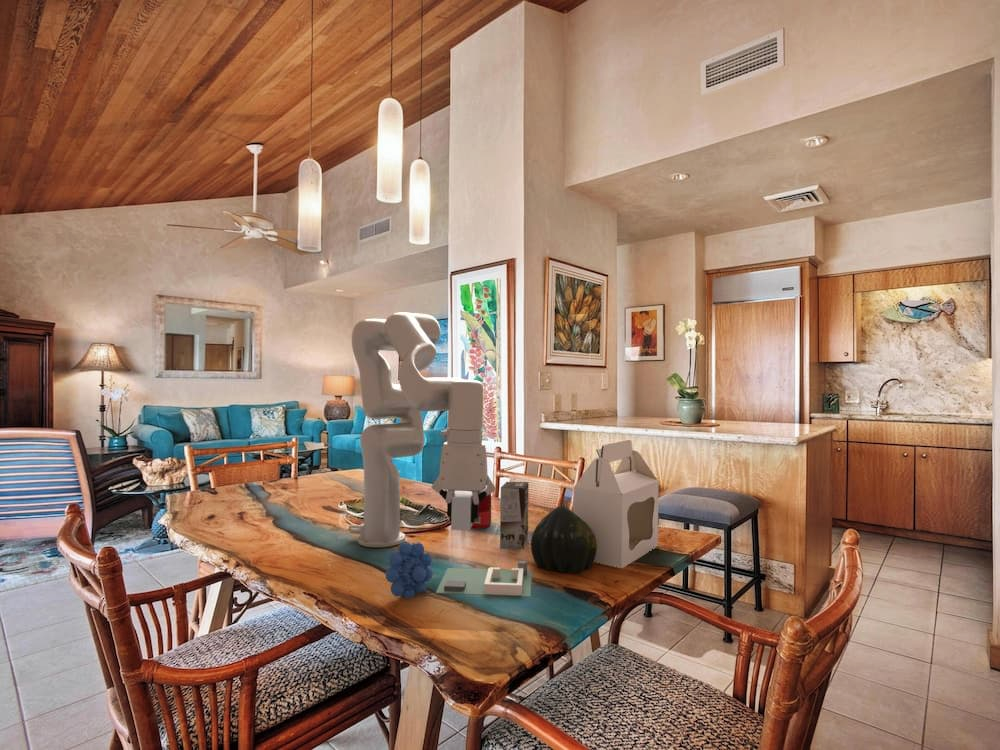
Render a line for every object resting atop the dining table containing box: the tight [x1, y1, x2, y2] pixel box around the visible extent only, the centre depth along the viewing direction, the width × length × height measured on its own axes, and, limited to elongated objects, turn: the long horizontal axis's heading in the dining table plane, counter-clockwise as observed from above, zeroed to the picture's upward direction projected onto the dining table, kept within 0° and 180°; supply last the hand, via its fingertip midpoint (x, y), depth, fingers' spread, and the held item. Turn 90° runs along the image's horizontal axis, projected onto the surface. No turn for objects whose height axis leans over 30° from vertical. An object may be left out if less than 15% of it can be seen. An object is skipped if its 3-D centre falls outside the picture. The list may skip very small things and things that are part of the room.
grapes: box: [385, 541, 433, 599], centre depth 106 cm, size 12×7×12 cm, turn 141°
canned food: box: [471, 486, 492, 530], centre depth 161 cm, size 8×8×11 cm
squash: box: [530, 504, 597, 575], centre depth 125 cm, size 14×15×15 cm
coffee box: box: [499, 481, 530, 550], centre depth 143 cm, size 9×6×16 cm
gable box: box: [572, 439, 659, 569], centre depth 138 cm, size 22×13×28 cm, turn 142°
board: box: [435, 560, 533, 597], centre depth 114 cm, size 19×14×4 cm
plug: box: [450, 491, 473, 532], centre depth 118 cm, size 4×7×7 cm, turn 176°
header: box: [484, 566, 523, 596], centre depth 112 cm, size 8×10×2 cm
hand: (462, 519), depth 117 cm, fingers closed on plug, 4 cm apart
